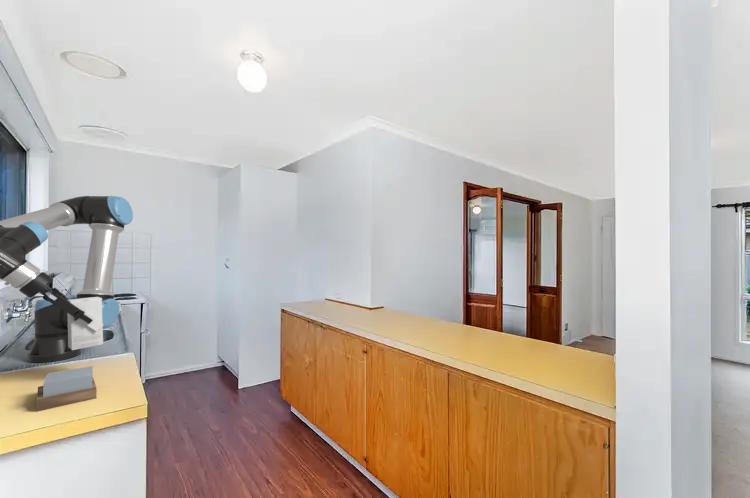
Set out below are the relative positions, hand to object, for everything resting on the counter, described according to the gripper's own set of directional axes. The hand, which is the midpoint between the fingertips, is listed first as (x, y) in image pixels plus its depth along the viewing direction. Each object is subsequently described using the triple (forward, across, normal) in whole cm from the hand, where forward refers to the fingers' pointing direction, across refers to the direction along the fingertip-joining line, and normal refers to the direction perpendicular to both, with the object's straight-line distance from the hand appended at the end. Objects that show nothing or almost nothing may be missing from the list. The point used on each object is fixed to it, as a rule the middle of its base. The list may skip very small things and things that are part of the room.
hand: (98, 325), depth 116 cm
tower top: (+4, +17, -15) cm, 23 cm away
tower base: (+6, +17, -18) cm, 25 cm away
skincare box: (+2, 0, -7) cm, 7 cm away
